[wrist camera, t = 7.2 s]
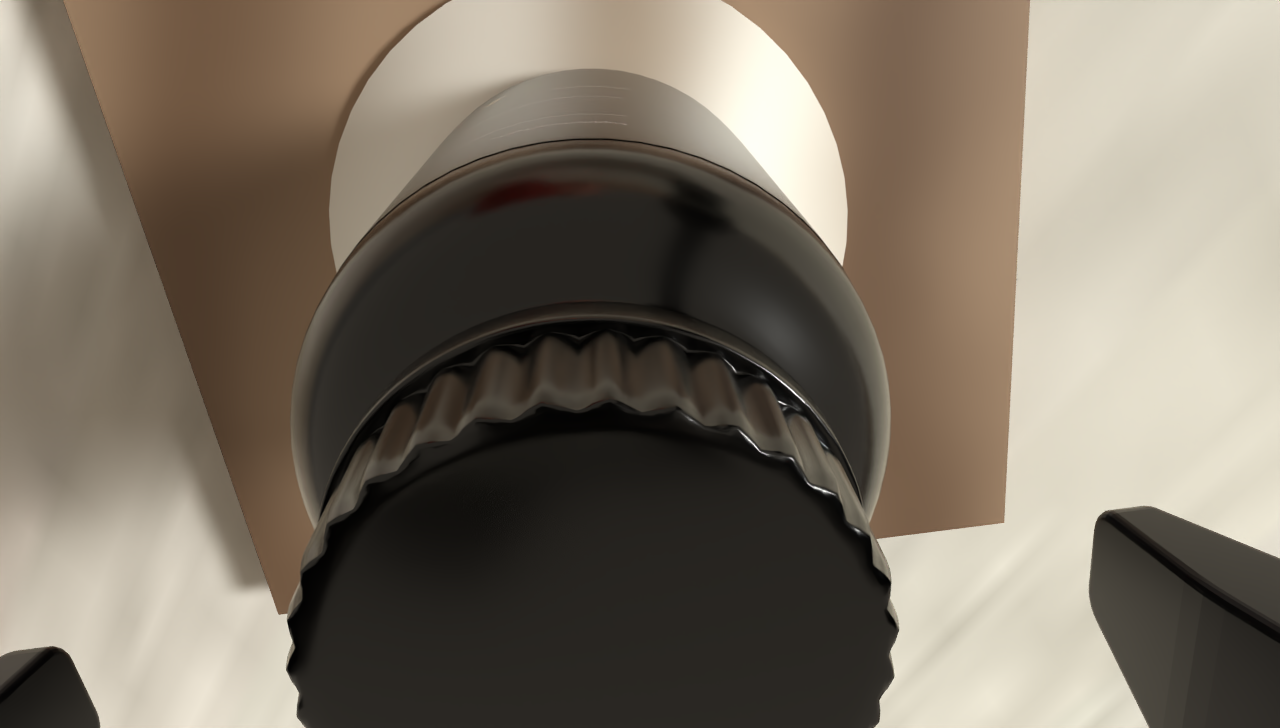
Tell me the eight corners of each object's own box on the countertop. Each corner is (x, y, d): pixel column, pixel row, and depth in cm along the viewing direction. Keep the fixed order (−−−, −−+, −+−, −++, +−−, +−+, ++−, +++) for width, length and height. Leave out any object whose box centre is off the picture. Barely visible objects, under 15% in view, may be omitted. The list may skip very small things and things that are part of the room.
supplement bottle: (824, 307, 19) (1140, 807, 8) (531, 451, 20) (457, 1064, 9) (671, -16, 16) (829, 67, 5) (343, 168, 17) (-82, 554, 6)
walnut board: (1007, -284, 16) (1053, -310, 15) (979, 488, 23) (1008, 530, 21) (53, -157, 17) (-7, -168, 15) (296, 575, 23) (274, 622, 22)
